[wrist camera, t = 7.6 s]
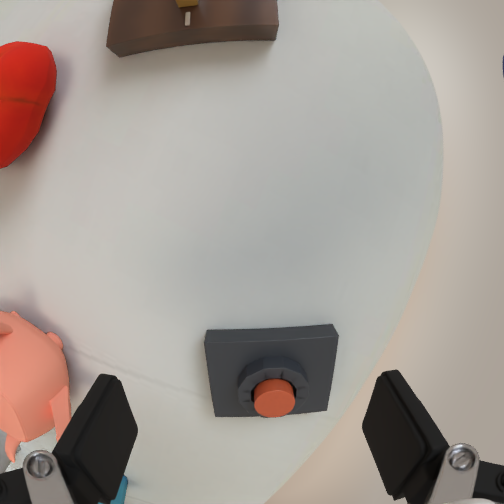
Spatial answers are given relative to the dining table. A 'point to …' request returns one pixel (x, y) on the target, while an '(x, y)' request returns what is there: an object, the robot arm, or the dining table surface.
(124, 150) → the dining table surface
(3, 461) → the glass holder
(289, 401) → the round orange push button
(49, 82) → the tomato
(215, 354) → the button box
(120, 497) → the cup
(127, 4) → the plate
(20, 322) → the teapot
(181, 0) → the lock knob
